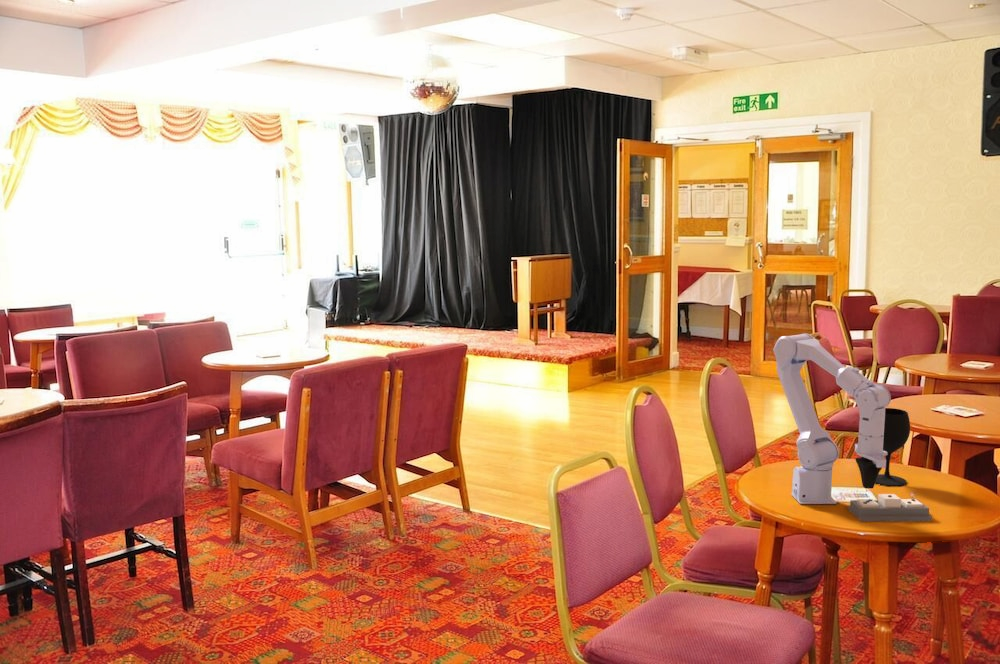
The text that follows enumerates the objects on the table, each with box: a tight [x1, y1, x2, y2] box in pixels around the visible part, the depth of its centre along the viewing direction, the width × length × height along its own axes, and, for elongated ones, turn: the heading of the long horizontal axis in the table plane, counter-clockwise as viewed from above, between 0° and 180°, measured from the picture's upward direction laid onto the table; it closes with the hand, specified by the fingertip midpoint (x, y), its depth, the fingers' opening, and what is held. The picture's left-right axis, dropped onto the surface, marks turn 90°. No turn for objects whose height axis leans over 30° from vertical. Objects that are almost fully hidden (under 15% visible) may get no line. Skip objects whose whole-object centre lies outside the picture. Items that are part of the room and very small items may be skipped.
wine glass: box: [875, 407, 911, 487], centre depth 251 cm, size 10×10×20 cm
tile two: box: [900, 498, 924, 507], centre depth 224 cm, size 4×4×3 cm
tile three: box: [856, 498, 879, 507], centre depth 224 cm, size 4×4×3 cm
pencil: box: [909, 492, 933, 520], centre depth 231 cm, size 1×1×19 cm
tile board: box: [847, 499, 933, 522], centre depth 225 cm, size 17×9×3 cm, turn 89°
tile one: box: [877, 493, 902, 507], centre depth 224 cm, size 4×4×3 cm
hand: (868, 487), depth 224 cm, fingers closed
